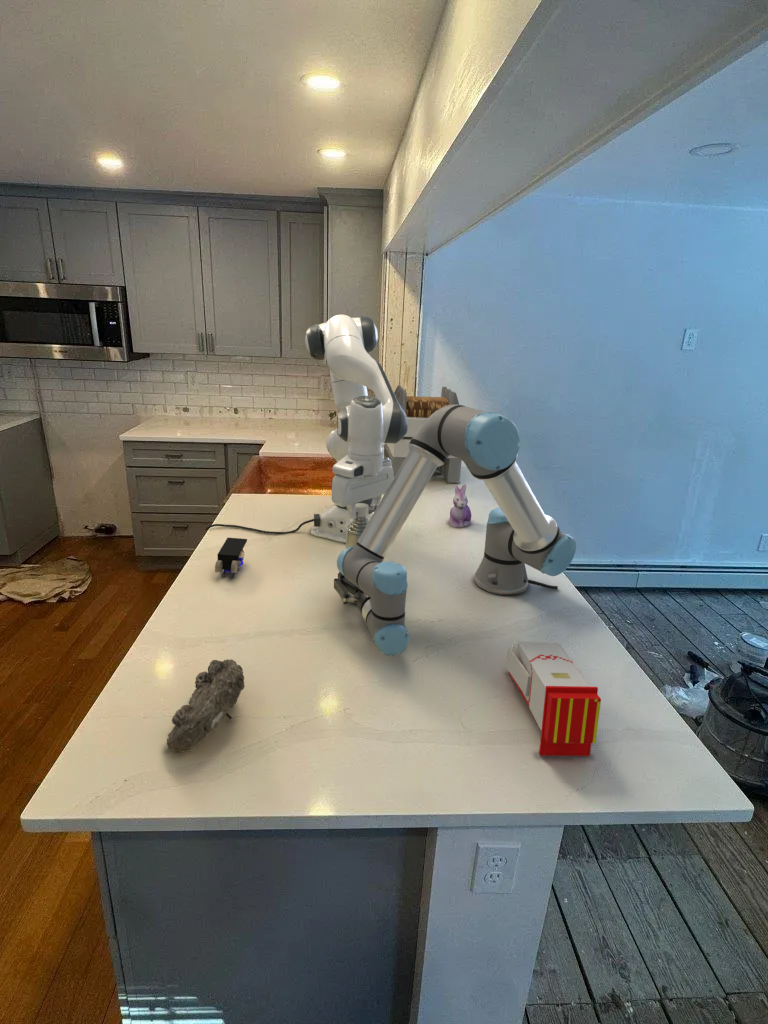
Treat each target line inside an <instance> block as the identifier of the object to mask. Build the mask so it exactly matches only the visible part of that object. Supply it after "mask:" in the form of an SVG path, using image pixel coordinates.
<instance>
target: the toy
mask: <svg viewBox="0 0 768 1024" xmlns="http://www.w3.org/2000/svg"><path fill="white" fill-rule="evenodd" d="M511 646H512V647H508V648H507V653H506V658H505V659H506V660H505V668H506V669H507V671H508V675H509V676H510V677H511V679H512V681H513V682H514V684H515V686H516V688H517V689H518V691H519V693H520V694H521V696H522V698H523V700H524V702H525V703H526V705H527V706H528V708H529V710H530V712H531V715H532V716H533V718H534V720H535V722H536V723H537V724H536V725H537V726H538V727H539V730H540V731H541V733H540V739H539V740H540V741H539V749H538V751H539V752H538V754H539V756H543V757H548V756H550V757H551V756H552V757H553V756H554V757H568V756H569V757H591V751H592V744H596V743H597V734H598V726H599V717H600V710H601V702H602V698H601V697H600V696H599V694H598V693H599V688H598V686H592V684H590V682H589V681H588V680H587V678H586V677H585V676H584V675H583V673H582V672H581V671H580V669H579V668H578V667H577V665H576V664H575V663H574V661H573V660H572V659H571V658H570V656H569V655H568V654H567V652H566V651H565V649H564V647H562V645H561V644H560V643H559V642H553V641H551V642H549V641H548V642H547V641H546V642H545V641H517V642H512V645H511Z"/></svg>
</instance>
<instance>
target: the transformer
mask: <svg viewBox="0 0 768 1024" xmlns="http://www.w3.org/2000/svg"><path fill="white" fill-rule="evenodd" d="M393 392H394V394H395V396H396V399H397V401H398V403H399V404H400V406H401V407H402V409H403V410H404V412H405V414H406V417H407V422H408V429H407V433H406V435H405V436H404V437H403V438H402V439H401V440H400V441H399V442H397V443H396V444H392V443H386V444H385V445H384V446H383V458H389V459H390V460H391V461H392V468H393V475H394V477H395V475H396V474H397V472H398V470H399V469H400V467H401V465H402V463H403V462H404V460H405V458H406V456H407V455H408V453H409V446H408V445H409V443H410V441H411V439H412V438H413V436H414V435H415V433H416V432H417V430H418V429H419V427H420V426H421V425H422V424H423V423H424V421H425V420H426V419H427V418H428V417H430V416H431V415H432V414H433V413H434V412H436V411H437V410H439V409H441V408H442V407H445V406H448V405H455V404H458V405H460V402H459V398H458V395H457V392H455V391H453V390H452V389H451V388H447V386H442V387H441V392H440V393H441V394H440V396H415V395H414V396H413V395H412V396H411V395H407V394H408V393H407V390H406V389H404V388H403V387H402V385H399V384H398V385H397V386H396V388H395V390H394V391H393ZM462 462H463V461H462V460H461V459H460V458H457V457H454V456H451V455H450V456H449V457H448V458H447V459H446V461H445V463H444V464H443V465H442V466H438V467H437V468H436V469H437V470H438V469H439V473H440V474H441V475H443V478H444V479H445V481H446V482H447V483H449V484H455V483H456V484H459V483H461V472H462Z"/></svg>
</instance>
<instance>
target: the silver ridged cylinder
mask: <svg viewBox="0 0 768 1024" xmlns="http://www.w3.org/2000/svg"><path fill="white" fill-rule="evenodd" d="M368 522H369V521H368V519H367V518H366V516H365V517H358V518H356V519H354V520H353V521H352V522H351V523H350V524H349V525H348V526H347V529H346V543H345V549H346V548H348V547H354V546H355V545H356V543H357V541H358V539H359V538H360V536H361V534H362V532H363V531H364V529H365V527H366V526H367V524H368ZM350 595H352V594H351V593H350ZM352 596H354V595H352ZM349 603H351V604H355V605H357V604H356V603H355V602H354V601H350V602H349Z"/></svg>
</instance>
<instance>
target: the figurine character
mask: <svg viewBox="0 0 768 1024" xmlns="http://www.w3.org/2000/svg"><path fill="white" fill-rule="evenodd" d="M247 542H248V538H240V537H226V539H225V541H224V543H223V544H222V546H221V547H220V549H219V551H218V552H217V560H216V562H215V564H214V572H215V573H221V577H222V578H224V577H225V576H226V574H227V573H230V574H231V573H232V574H231V578H234V577H235V575H236V573H237V572H239V571H240V567H242V566H243V565H244V564H245V562H244V558H245V551H244V547H245V546H246V544H247Z"/></svg>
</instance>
